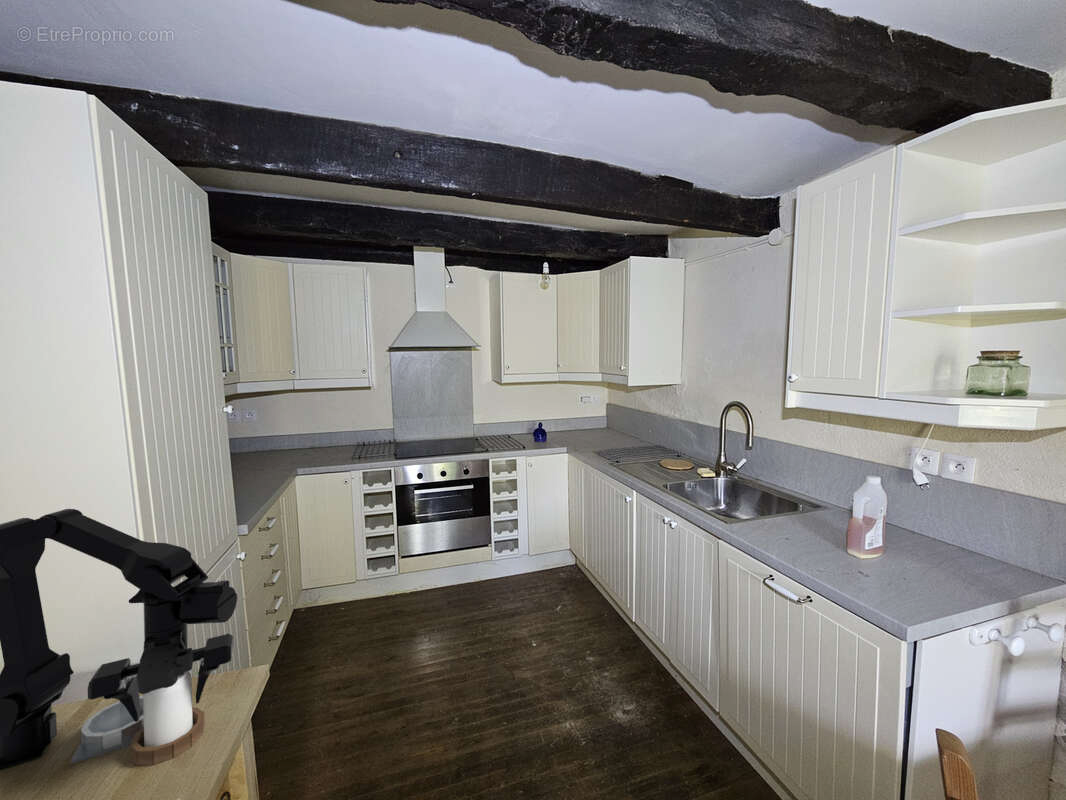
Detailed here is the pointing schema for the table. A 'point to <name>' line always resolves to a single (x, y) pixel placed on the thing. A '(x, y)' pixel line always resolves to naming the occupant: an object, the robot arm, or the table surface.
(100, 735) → the dock
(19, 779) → the table surface
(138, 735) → the brown segmented ring
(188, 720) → the can
